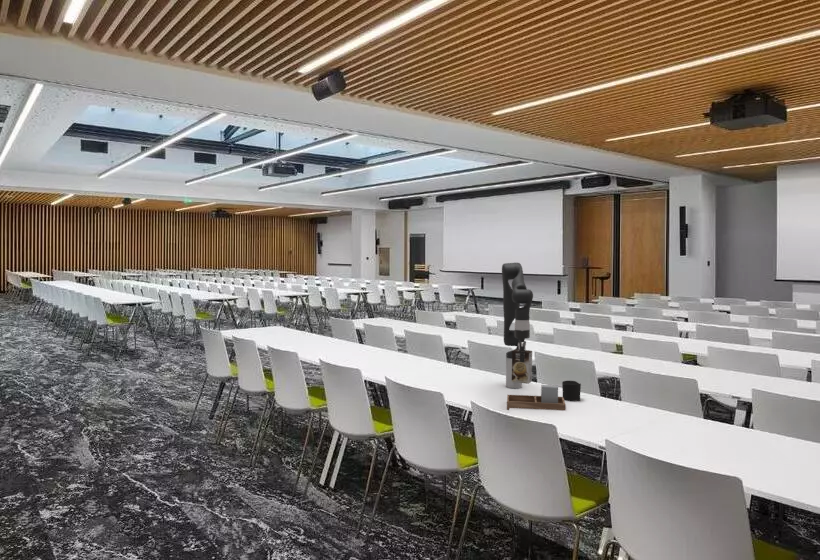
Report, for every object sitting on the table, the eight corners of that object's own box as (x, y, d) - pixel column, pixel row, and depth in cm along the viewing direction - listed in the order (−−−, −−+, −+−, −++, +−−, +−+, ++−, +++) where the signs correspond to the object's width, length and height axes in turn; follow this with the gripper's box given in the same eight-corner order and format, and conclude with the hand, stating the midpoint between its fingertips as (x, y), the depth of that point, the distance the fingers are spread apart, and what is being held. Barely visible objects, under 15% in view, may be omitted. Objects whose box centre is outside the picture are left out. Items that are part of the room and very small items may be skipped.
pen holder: (560, 402, 306) (560, 383, 305) (564, 398, 314) (564, 379, 313) (578, 404, 301) (578, 385, 301) (582, 400, 309) (582, 381, 309)
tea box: (541, 404, 298) (541, 384, 298) (557, 404, 297) (557, 385, 296) (541, 406, 293) (541, 387, 293) (557, 407, 292) (558, 387, 291)
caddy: (507, 402, 306) (507, 394, 306) (563, 404, 301) (563, 396, 301) (507, 409, 292) (507, 401, 291) (565, 412, 286) (565, 404, 286)
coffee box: (511, 382, 296) (511, 350, 295) (515, 379, 302) (515, 348, 301) (528, 384, 292) (528, 352, 291) (532, 381, 298) (532, 350, 297)
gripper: (514, 326, 303) (514, 357, 304) (514, 330, 289) (514, 363, 290) (529, 326, 302) (529, 358, 303) (530, 330, 288) (529, 363, 289)
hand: (521, 360), depth 296 cm, fingers closed on coffee box, 7 cm apart
